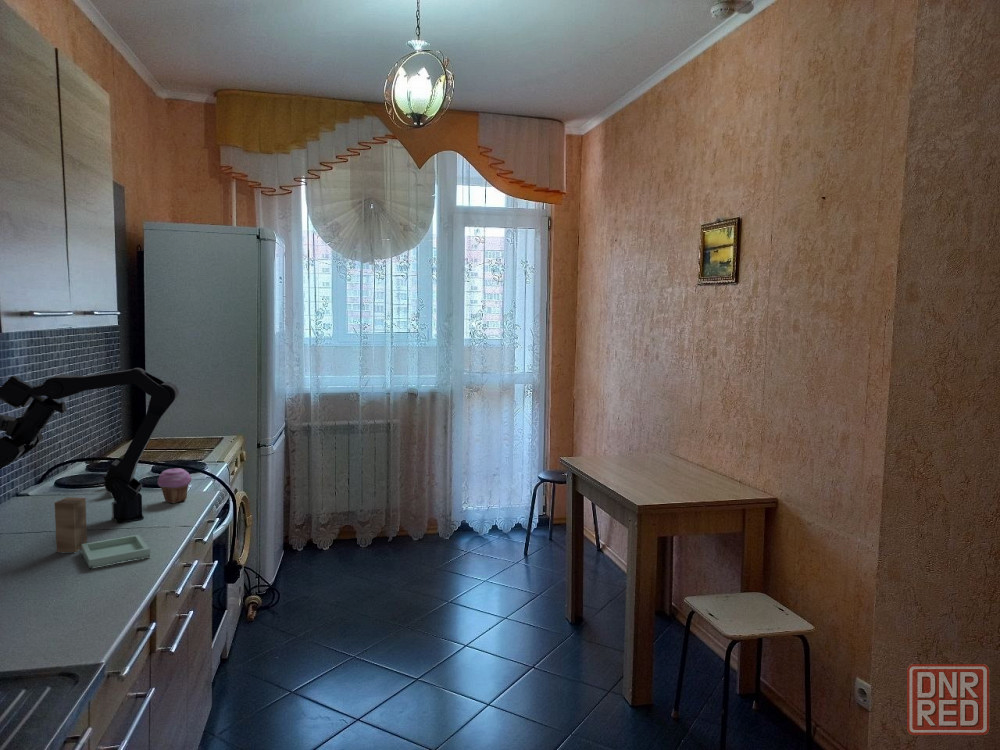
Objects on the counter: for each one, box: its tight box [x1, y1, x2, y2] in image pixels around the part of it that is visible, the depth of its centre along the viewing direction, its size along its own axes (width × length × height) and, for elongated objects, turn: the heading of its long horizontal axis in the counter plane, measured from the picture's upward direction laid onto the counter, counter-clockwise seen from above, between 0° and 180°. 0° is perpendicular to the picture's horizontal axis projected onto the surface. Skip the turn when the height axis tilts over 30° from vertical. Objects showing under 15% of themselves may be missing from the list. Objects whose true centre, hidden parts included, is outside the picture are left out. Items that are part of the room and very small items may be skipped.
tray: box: [81, 534, 151, 569], centre depth 154 cm, size 12×12×2 cm
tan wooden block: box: [54, 496, 88, 553], centre depth 157 cm, size 4×4×12 cm
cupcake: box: [157, 467, 192, 504], centre depth 197 cm, size 9×9×10 cm
